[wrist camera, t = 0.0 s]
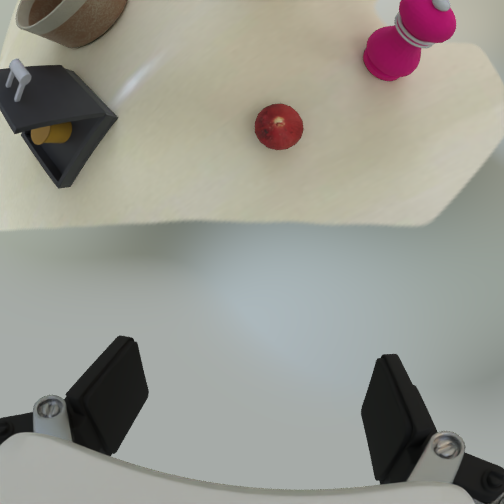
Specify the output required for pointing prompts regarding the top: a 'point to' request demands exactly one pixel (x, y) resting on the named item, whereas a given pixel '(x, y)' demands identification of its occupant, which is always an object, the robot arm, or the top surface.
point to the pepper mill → (408, 37)
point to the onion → (278, 126)
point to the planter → (68, 19)
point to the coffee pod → (52, 133)
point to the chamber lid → (43, 97)
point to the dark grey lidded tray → (72, 144)
